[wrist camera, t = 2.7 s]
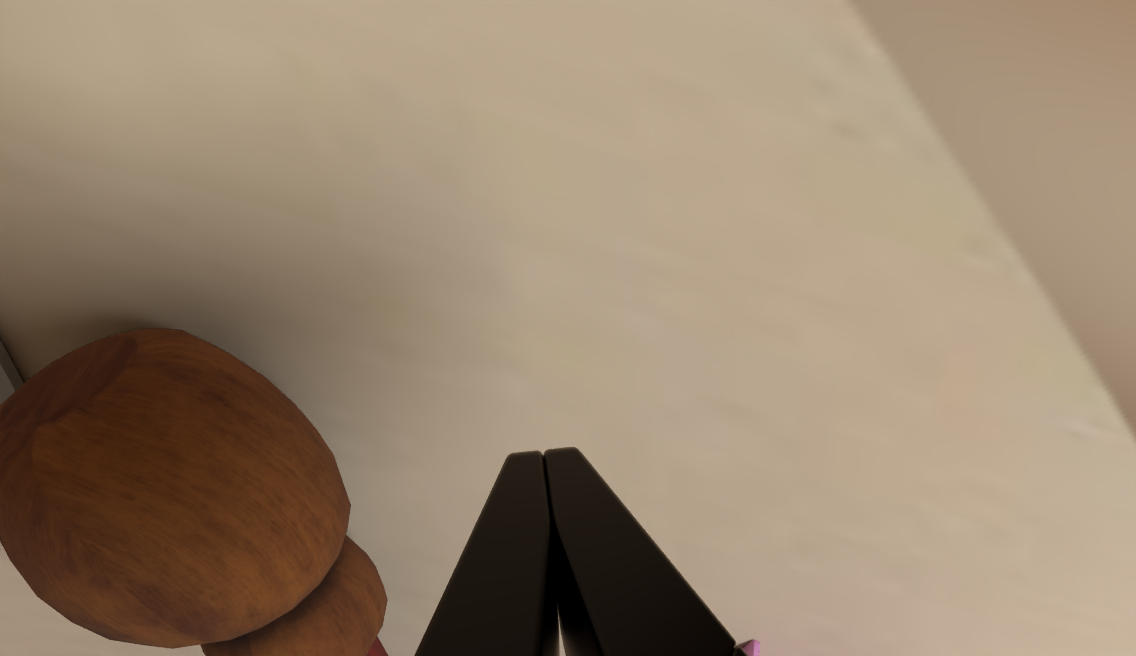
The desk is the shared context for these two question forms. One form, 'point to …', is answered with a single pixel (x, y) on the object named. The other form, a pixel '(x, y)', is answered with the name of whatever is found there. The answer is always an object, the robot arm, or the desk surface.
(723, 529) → the desk surface
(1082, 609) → the desk surface
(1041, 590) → the desk surface
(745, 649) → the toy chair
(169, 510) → the wooden figurine
